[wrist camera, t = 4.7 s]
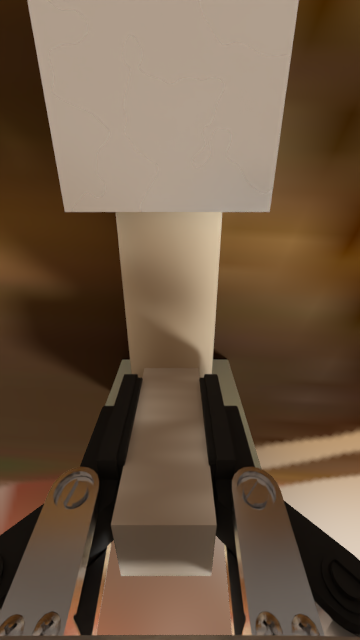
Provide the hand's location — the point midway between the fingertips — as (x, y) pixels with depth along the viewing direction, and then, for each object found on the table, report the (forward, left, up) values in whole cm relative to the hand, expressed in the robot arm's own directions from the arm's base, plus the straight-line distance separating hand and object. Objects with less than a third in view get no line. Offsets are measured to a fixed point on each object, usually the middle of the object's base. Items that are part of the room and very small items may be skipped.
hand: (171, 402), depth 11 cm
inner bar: (0, -3, -5) cm, 6 cm away
